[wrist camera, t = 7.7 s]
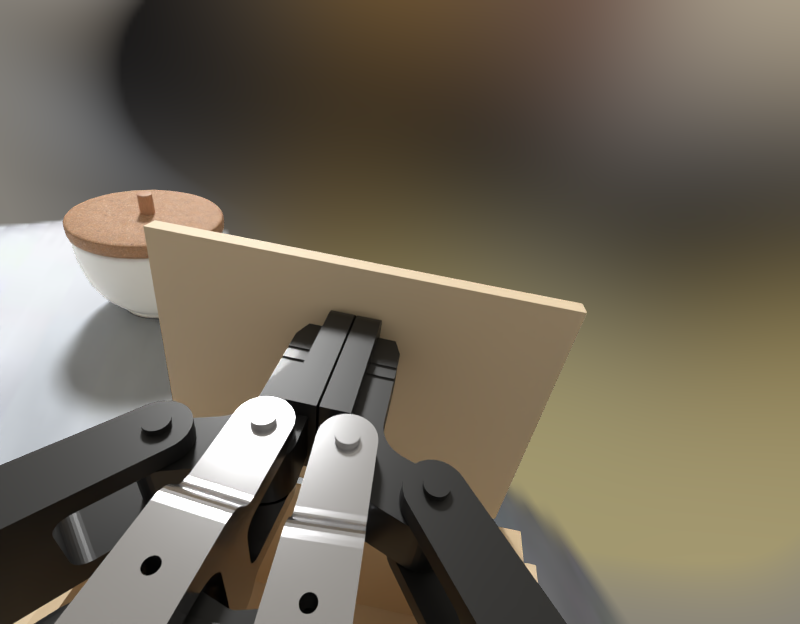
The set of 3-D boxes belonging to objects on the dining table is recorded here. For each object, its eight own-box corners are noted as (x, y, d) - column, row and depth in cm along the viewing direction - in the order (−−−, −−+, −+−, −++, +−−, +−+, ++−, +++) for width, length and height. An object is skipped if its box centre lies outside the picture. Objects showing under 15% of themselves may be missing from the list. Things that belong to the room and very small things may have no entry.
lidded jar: (102, 270, 39) (72, 168, 34) (227, 264, 43) (218, 172, 38) (78, 344, 31) (34, 224, 26) (234, 328, 35) (224, 222, 30)
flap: (181, 451, 16) (143, 226, 11) (188, 441, 17) (155, 220, 12) (494, 518, 16) (586, 313, 11) (494, 506, 16) (582, 303, 11)
